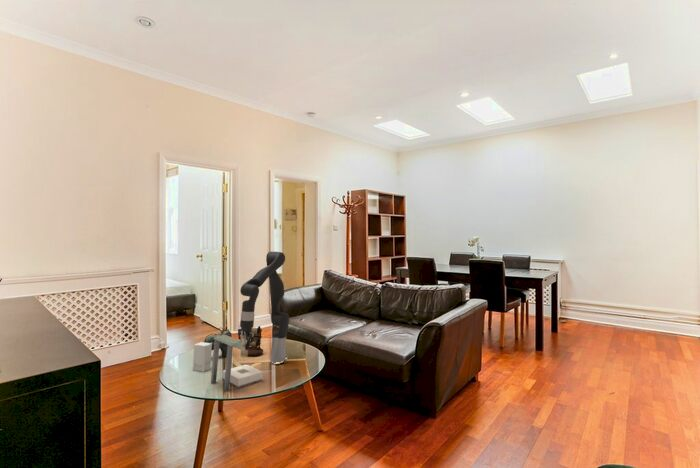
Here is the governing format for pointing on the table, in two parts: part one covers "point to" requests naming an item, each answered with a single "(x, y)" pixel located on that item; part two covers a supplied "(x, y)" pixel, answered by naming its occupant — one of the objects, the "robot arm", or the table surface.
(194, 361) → the skincare box
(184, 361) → the table surface
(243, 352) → the peg
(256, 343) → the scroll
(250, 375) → the socket block
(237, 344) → the twin post stand
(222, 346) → the ceramic cat
